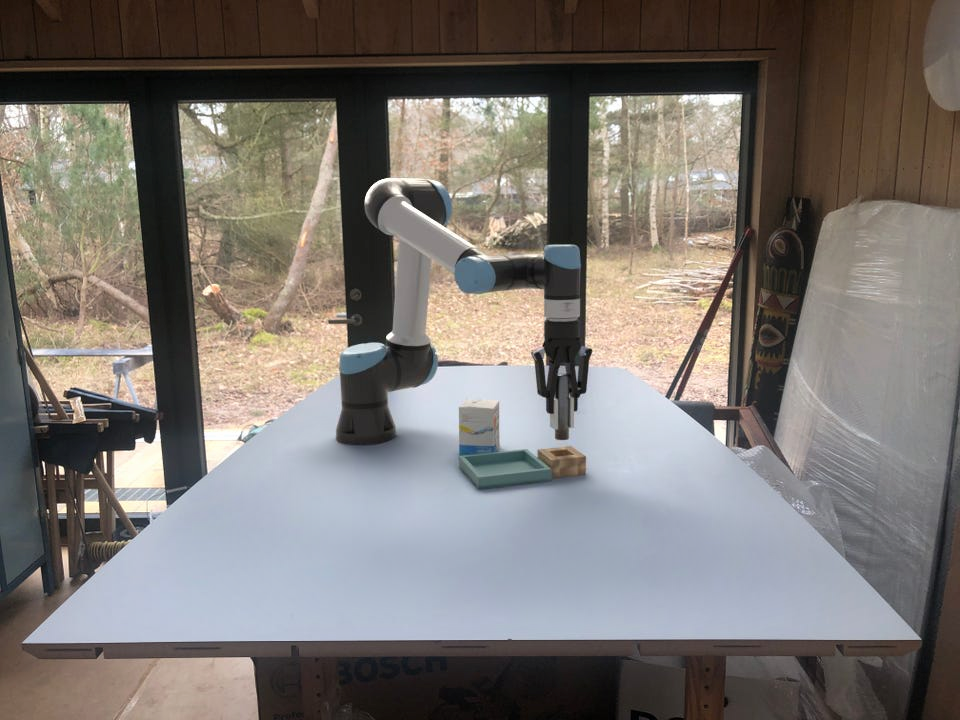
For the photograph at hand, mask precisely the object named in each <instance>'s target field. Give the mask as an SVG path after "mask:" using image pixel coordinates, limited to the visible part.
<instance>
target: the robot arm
mask: <svg viewBox="0 0 960 720" xmlns="http://www.w3.org/2000/svg"><path fill="white" fill-rule="evenodd" d="M364 211H365V215H366V217H367V219H368V220H369V222H370V223H371V224H372V225H373V226H374V227H375V228H376V229H378V230H379V231H380V232H382V233H384V234H385V235H388V236H396V237H397V238H398V249H397V265H396V278H395V293H394V303H393V304H394V306H393V319H392V321H393V322H392V330H391V332H389V333H388V334H387V335H386V338H385V344H383V343H381V342H367V343H359V344H355V345H351V346H349V347H346V348H345V349H343V350H342V351H341V353H340V355H339V365H338V366H339V367H338V371H339V378H340V380H339V381H340V396H341V397H340V398H341V399H340V400H341V410H340V414H339V418H338V420H337V421H338V422H337V424H336V428H335V439H336V440H337V441H338V442H340V443H343V444H348V445H360V446H361V445H373V444H380V443H385V442H388V441H391V440H393V439H394V438H395V437H396V436H397V429H396V424H395V422H394V419H393V416H392V414H391V411H390V408H389V400H388V399H389V398H388V394H389V393H391V392H395V391H400V390H401V391H402V390H407V389H410V388H417V387H420V386H423V385H425V384H427V383H429V382H430V381H432V379H434V377H435V376H436V373H437V370H438V366H439V358H438V357H439V356H438V354H436V352H437V350H436V348H435V346H434V345H433V344H432V343H431V341H432V340H431V338H430V337H429V336H428V334H427V333H426V331H427V330H426V329H427V320H428V306H429V295H430V286H431V285H430V284H431V273H432V261H433V262H434V263H435V264H437V265H438V266H440V267H441V268H443V269H445V270H446V271H447V272H448V273H450V274H451V275H453V278H454V282H455V284H456V285H457V287H458V289H459V290H460V291H461V292H463V293H464V294H469V295H472V294H473V295H474V294H475V295H483V294H488V293H496V292H506V291H514V290H525V289H526V290H527V289H530V290H531V289H532V290H543V297H544V298H543V317H544V318H545V319H544V321H543V335H544V336H543V337H544V339H543V342H542V346H541V347H540V348H538V349H536V350H534V349H533V350H532V351H531V352H530V354H531V357H532V359H533V361H534V370H535V380H536V391H537V395H538V396H540V397H542V398H545V404H546V405H545V407H546V408H545V410H546V413H547V414H549V427H550V428H552V429H553V430H554V431H555V430H556V429H558V399H556V398H555V391H556V384H557V377H558V374H559V369H560V368H561V364H562V363H563V364H564V366H565V372H566V373H565V374H569V429H573V428H575V420H574V419H575V412H578V409H579V408H578V406H579V405H578V402H579V401H578V399H579V398H580V396H581V395H584V394H586V393H587V390H588V389H587V388H588V376H589V366H590V365H589V364H590V359H591V357H592V354H593V349H592V348H590V347H588V346H583V344H582V341H581V340H580V337H581V321H580V320H579V318H580V317H581V295H580V294H581V293H580V292H581V291H580V288H581V270H582V269H581V267H582V264H581V255H580V254H581V252H580V248H579V246H578V245H576V244H546V245H545V246H544V248H543V253H541V254H540V253H524V252H513V253H507V254H497V255H490V254H488V253H486V252H484V251H482V250H481V249H479V248H478V247H476V246H475V245H473V244H472V243H470V242H468V241H467V240H465V239H464V238H462V237H461V236H459V235H458V234H456V233H454V232H453V231H451V230H450V229H448V228H447V227H445V226H446V225H448V223H449V221H450V219H451V217H452V213H453V203H452V199H451V195H450V193H449V192H448V191H447V189H446V187H445V186H444V185H443V184H442V183H441V182H439V181H437V180H434V179H427V178H398V177H397V178H395V177H387V178H384V179H381V180H378V181H377V182H375V183H374V184H373V185H372V186H370V188H369V189H368V191H367V192H366V195H365V198H364ZM545 355H546V356H547V358H548V359H549V360H548V372H547V380H546V372H545V371H546V370H545V362H544V359H545ZM577 355H579V357H578V358H579V359H578V370H577V373H576V357H577Z"/></svg>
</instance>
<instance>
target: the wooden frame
mask: <svg viewBox="0 0 960 720" xmlns="http://www.w3.org/2000/svg"><path fill="white" fill-rule="evenodd" d="M537 458H539V459H540V460H541V461H542V462H544V463H545V464H546V465H547V466H548V467H550V468H551V469H552V479H557V478H565V477H574V476H583V475H586V474H587V456H586V455H585V454H583V453H582V452H580V451H579V450H578V449H576V448H575V447H573V446H571V445H570V446H558V447H550V448H540V449H539V448H538V449H537Z"/></svg>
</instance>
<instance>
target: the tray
mask: <svg viewBox="0 0 960 720" xmlns="http://www.w3.org/2000/svg"><path fill="white" fill-rule="evenodd" d="M458 468H459V469H460V470H461V472H463V474H464V475H465V476H466V477H467V479H469V481H470V482H471V483H472V484H473V485H474V486H475V488H476V489H477V490H485V489H494V488H496V489H497V488H503V487H512V486H519V485H528V484H535V483H537V484H538V483H544V482H551V481H552V479H553V478H552V469H551V468H550V467H548V466H547V465H546V464H545V463H544V462H542V461H541V460H540V459H539V458H538V456H536V455H535V454H534V453H532V452H531V451H530V450H529V449H527V448H524V449H523V448H522V449H513V450H505V451H497V452H493V453H484V454H474V455H459V456H458Z"/></svg>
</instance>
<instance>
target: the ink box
mask: <svg viewBox="0 0 960 720" xmlns="http://www.w3.org/2000/svg"><path fill="white" fill-rule="evenodd" d="M458 444H459V445H458V449H459V450H458V454H459V456H465V455H474V454H484V453H493V452H498V450H499V448H500V447H501V446H500V400H496V399H479V398H475V399H466V400H465V401H463V403H461V404H460V405H459V406H458Z"/></svg>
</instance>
